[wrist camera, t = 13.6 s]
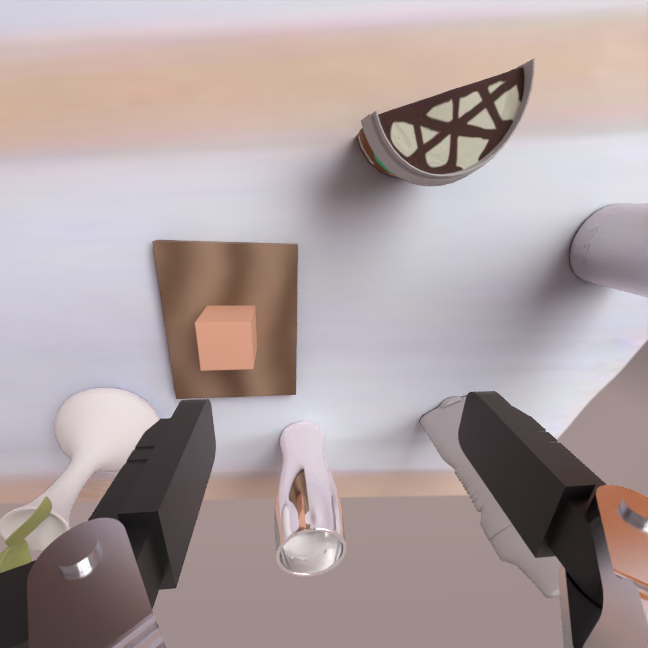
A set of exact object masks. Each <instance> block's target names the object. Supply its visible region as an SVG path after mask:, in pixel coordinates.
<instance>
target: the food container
mask: <svg viewBox="0 0 648 648" xmlns="http://www.w3.org/2000/svg"><path fill="white" fill-rule="evenodd" d="M534 68H535V58H534V59H532V60H530V61H529V62H527V63H525V64H523V65H521V66H519V67H518V68H516V69H513V70H511V71H509V72H506V73H503V74H501V75H497V76H494V77H491V78H488V79H485V80H482V81H479V82H476V83H473V84H469V85H466V86H463V87H459V88H456V89H453V90H450V91H447V92H444V93H441V94H438V95H436V96H433V97H430V98H427V99H424V100H421V101H418V102H415V103H412V104H408V105H405V106H402V107H399V108H396V109H393V110H390V111H387V112H385V113H382V114H379V115H378V113H377V110H376V111H375V112H374V113H373V114H369V115H368V116H367V117H365V118H364V119H363V120H361V123H362V126H363V128H362V129H361V130H360V132H359V133H358V134H357V136H356V137H357V140H358V143H359V146H360V149H361V151H362V152H363V154H364V156H365V157H366V159H367V160H368V162H369V163H370V164H371V165H372V166H373V167H375V168H376V169H377V170H378V171H379V172H381V173H384V174H386V175H389V176H392V177H399V178H401V179H403V180H405V181H407V182H410V183H413V184H416V185H422V186H441V185H445V184H449V183H453V182H455V181H458V180H460V179H462V178H464V177H466V176H468V175H469V174H471V173H473V172H474V171H476V170H478V169H479V168H481V167H483V166H484V165H485V164H486V163H487V162H489V161H490V160H491V159H492V158H493V157H494V156H495V155H496V154H497V153H498V152H499V151H500V150H501V149H502V148H503V146H504V145H505V144H506V143H507V141H508V140H509V139H510V137H511V136H512V134H513V133H514V132H515V130H516V128H517V126H518V124H519V122H520V121H521V119H522V117H523V114H524V112H525V109H526V107H527V104H528V101H529V97H530V94H531V90H532V84H533V78H534Z"/></svg>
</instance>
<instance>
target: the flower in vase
mask: <svg viewBox="0 0 648 648" xmlns="http://www.w3.org/2000/svg"><path fill="white" fill-rule="evenodd" d="M159 420H160V418H159V416H158V414H157V412H156V411H155V410H154V408H153V407H152V406H151V405H150V404H149V403H148V402H147V401H145V400H144V399H143V398H141V397H139V396H138V395H136V394H133V393H131V392H129V391H125V390H122V389H117V388H93V389H88V390H84V391H81V392H78V393H76V394H74V395H72V396H71V397H69V398H68V399H67V400H66V401H65V402H64V403H63V404H62V405H61V407H60V408H59V410H58V412H57V415H56V418H55V422H54V433H55V436H56V439H57V441H58V443H59V445H60V447H61V449H62V450H63V452H64V453H65V454H66V455H67V456H68V457H69V458H70V459H71V462H70V464H69V466H68V467H67V468H66V470H65V471H64V472H63V473H62V475H61V476H60V477H59V478H58V479H57V480H56V481H55V482H54V483H53V484H52V485H51V486H50V487H49V488H48V489H47V490H46V491H45V492H44V493H43V494H42V495H40V496H39V497H38V498H37V499H35V500H34V501H32V502H31V503H29V504H27V505H25V506H23V507H20V508H17V509H15V510H12V511H10V512H9V513H7V514H6V515H4V516H3V517H2V519H1V520H0V534H1V535H2V537H3V538H4V539H5V540H6V542H5V543H6V544H7V545H8V546H9V547H8V548H6V549H5V550H4V551H3V552H2V553H1V554H0V573H2V572H4V571H7V570H10V569H13V568H16V567H19V566H22V565H25V564H27V563H30V562H31V556H30V551H44V549H45V548H46V547H47V546H49V545H50V544H51V543H52V542H53V541H54V540H55V539H56V538H58V537H59V536H60V535H62V534H63V533H65V532H66V531H68V530H69V529H70V525H69V517H70V512H71V509H72V507H73V505H74V502H75V500H76V498H77V496H78V495H79V493H80V491H81V489H82V488H83V486H84V485H85V483H86V482H87V480H88V479H89V478H90V477H91V475H92V474H93V473H94V472H95V471H96V470H100V471H116V470H121V468H122V467H123V465H124V464H126V462H127V459H128V457H129V456H130V454H131V453H132V451H133V450H135V446H136V445H137V443H138V442H139V440H140V439H141V437H142V435H143V434H144V432H145V431H146V430H148V429H149V428H150V427H151V426H153V425H154V424H155V423H156V422H157V421H159Z"/></svg>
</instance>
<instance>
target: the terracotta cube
mask: <svg viewBox="0 0 648 648" xmlns="http://www.w3.org/2000/svg"><path fill="white" fill-rule="evenodd" d="M195 328H196V336H197V344H198V352H199V360H200V369H201V371H206V370H240V369H253V368H254V363H255V357H256V351H257V333H256V311H255V306H207V307H206V308H205V309H204V311H203V312H202V313H201V315H200V316H199V318H198V319H197V320H196V322H195Z"/></svg>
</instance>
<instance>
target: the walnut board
mask: <svg viewBox="0 0 648 648" xmlns="http://www.w3.org/2000/svg"><path fill="white" fill-rule="evenodd" d="M153 248H154V254H155V261H156V268H157V274H158V281H159V287H160V294H161V301H162V307H163V314H164V321H165V327H166V334H167V340H168V347H169V354H170V360H171V367H172V374H173V380H174V387H175V393H176V399H187V398H216V397H244V396H273V395H296V344H297V263H298V245H297V244H279V243H245V242H210V241H176V240H155V241H153ZM207 306H255V311H256V333H257V351H256V357H255V363H254V368H253V369H240V370H206V371H201V369H200V360H199V352H198V344H197V336H196V328H195V322H196V320H197V319H198V318H199V316H200V315H201V313H202V312H203V311H204V309H205V308H206V307H207Z"/></svg>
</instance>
